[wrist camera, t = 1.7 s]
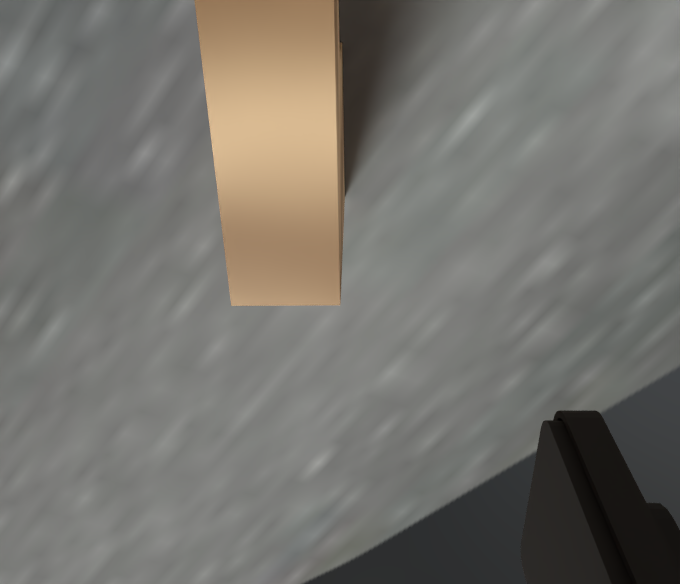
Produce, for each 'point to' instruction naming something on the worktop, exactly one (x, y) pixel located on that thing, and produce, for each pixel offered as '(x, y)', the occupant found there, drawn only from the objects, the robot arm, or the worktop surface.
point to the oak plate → (277, 145)
